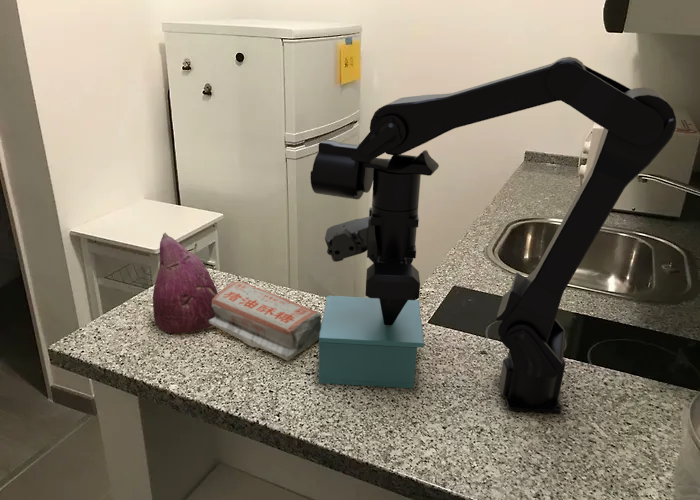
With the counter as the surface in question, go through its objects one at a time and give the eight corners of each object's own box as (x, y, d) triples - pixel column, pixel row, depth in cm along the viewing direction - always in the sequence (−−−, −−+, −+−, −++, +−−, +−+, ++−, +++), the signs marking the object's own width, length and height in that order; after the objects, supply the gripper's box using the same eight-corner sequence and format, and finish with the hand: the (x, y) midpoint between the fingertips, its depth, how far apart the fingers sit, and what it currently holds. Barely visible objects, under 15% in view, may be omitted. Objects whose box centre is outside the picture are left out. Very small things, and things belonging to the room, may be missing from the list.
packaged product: (331, 305, 85) (288, 334, 78) (330, 333, 87) (288, 364, 80) (241, 270, 94) (194, 293, 87) (242, 296, 96) (196, 321, 89)
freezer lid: (418, 304, 84) (421, 273, 82) (423, 348, 73) (426, 313, 71) (326, 299, 84) (327, 268, 82) (318, 342, 74) (319, 308, 72)
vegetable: (148, 339, 90) (106, 252, 85) (198, 304, 98) (162, 223, 92) (188, 346, 84) (146, 252, 79) (239, 308, 91) (203, 221, 86)
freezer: (410, 341, 86) (413, 304, 84) (413, 388, 76) (417, 348, 73) (326, 336, 87) (326, 299, 84) (318, 383, 76) (318, 342, 74)
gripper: (335, 179, 81) (333, 280, 87) (322, 228, 64) (321, 350, 70) (416, 183, 80) (408, 284, 86) (425, 233, 63) (414, 355, 69)
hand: (388, 314), depth 78 cm, fingers closed on freezer lid, 5 cm apart
